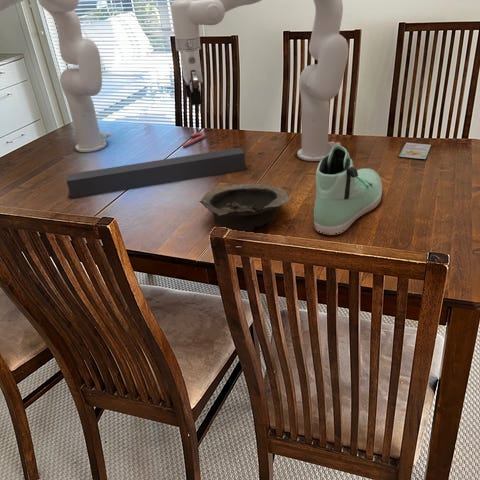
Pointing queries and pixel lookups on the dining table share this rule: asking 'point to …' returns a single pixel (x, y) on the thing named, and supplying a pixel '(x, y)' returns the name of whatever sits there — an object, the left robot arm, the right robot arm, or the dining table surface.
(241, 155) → the beam
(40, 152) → the dining table surface
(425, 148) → the baking ingredient package
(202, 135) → the red elongated piece
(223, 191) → the stone bowl
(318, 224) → the sneaker
